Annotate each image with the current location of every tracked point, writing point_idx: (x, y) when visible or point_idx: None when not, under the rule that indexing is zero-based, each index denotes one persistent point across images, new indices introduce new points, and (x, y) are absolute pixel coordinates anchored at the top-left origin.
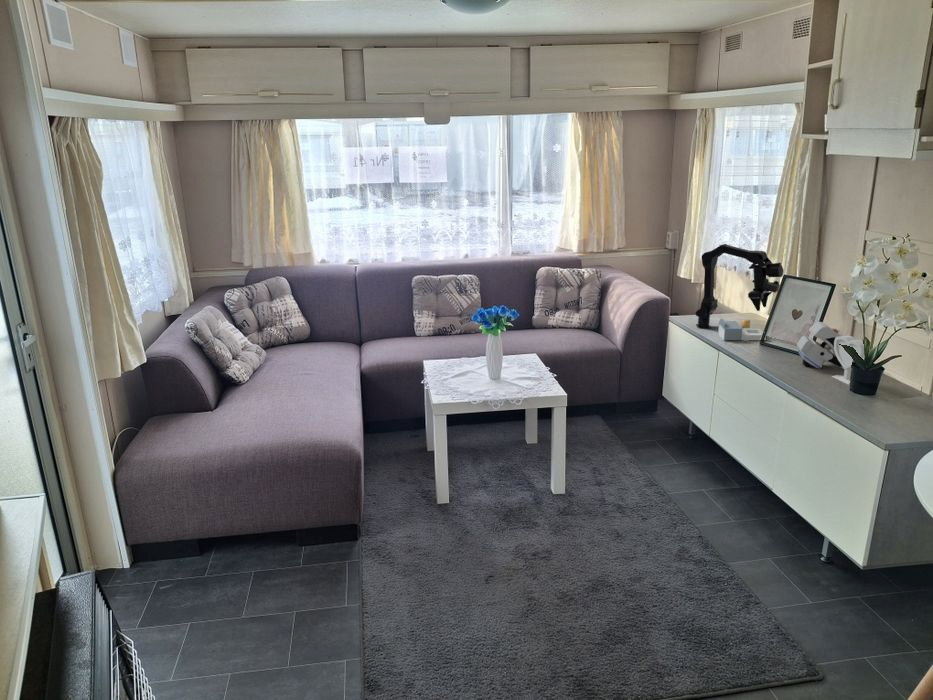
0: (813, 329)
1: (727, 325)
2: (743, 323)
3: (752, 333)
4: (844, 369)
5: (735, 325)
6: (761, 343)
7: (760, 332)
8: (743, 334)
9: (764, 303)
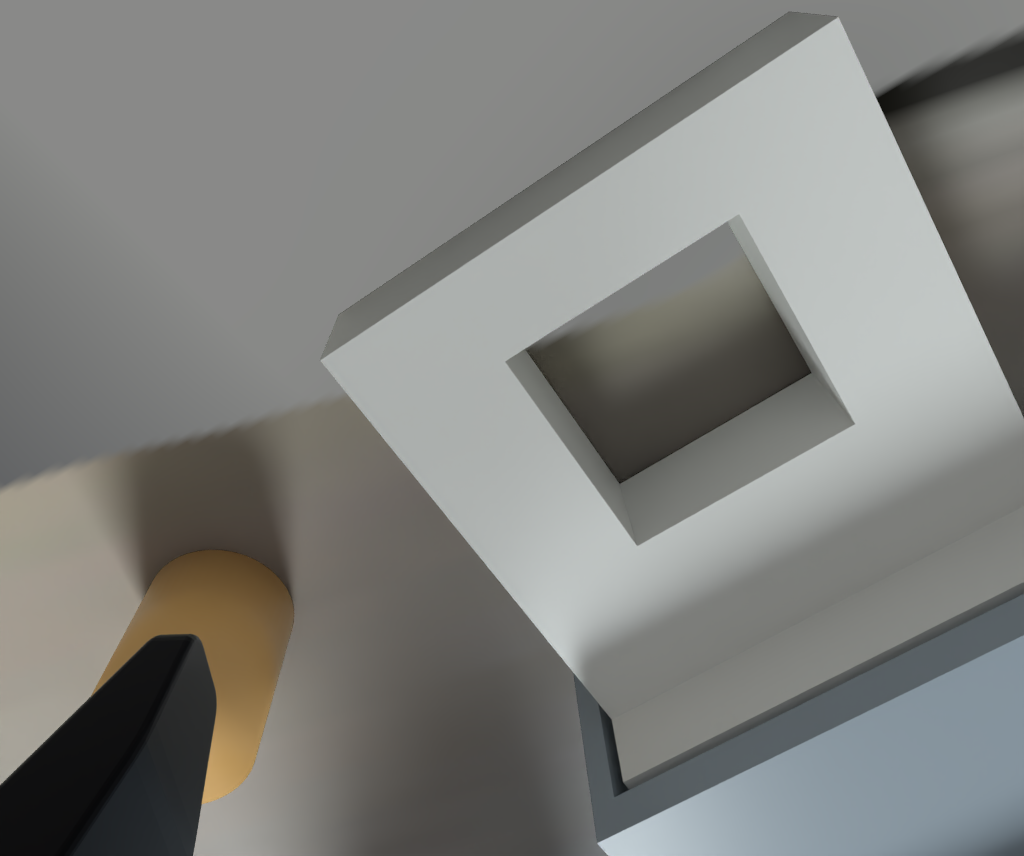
0: None
1: (1020, 839)
2: (265, 720)
3: (840, 350)
4: None
5: (955, 738)
6: (1018, 37)
7: (669, 235)
8: (1001, 466)
9: (139, 841)
